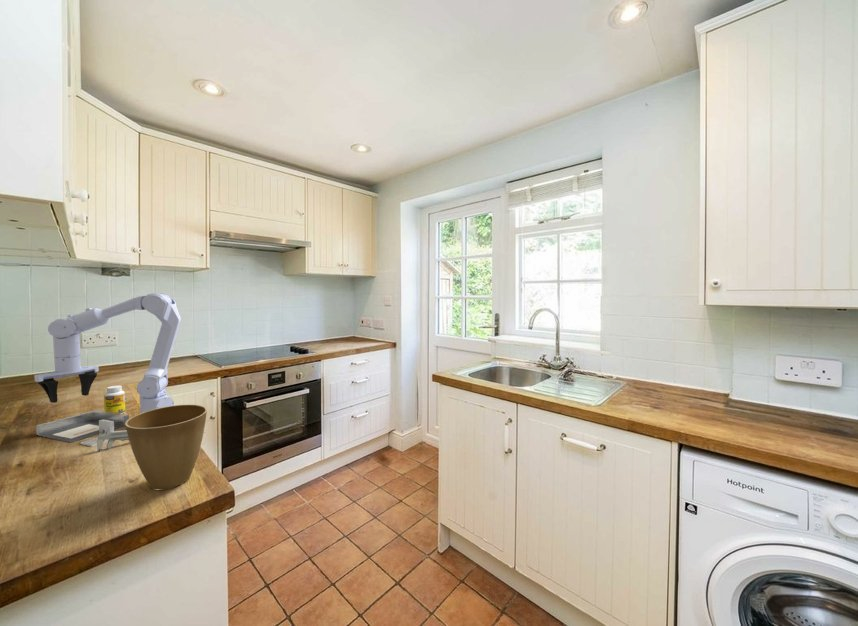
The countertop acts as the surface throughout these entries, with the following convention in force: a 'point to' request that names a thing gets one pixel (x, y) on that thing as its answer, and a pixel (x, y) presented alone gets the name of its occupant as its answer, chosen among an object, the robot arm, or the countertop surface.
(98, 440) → the caliper
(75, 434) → the arena
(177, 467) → the plant pot
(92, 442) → the bracket
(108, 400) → the supplement bottle
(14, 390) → the countertop surface
